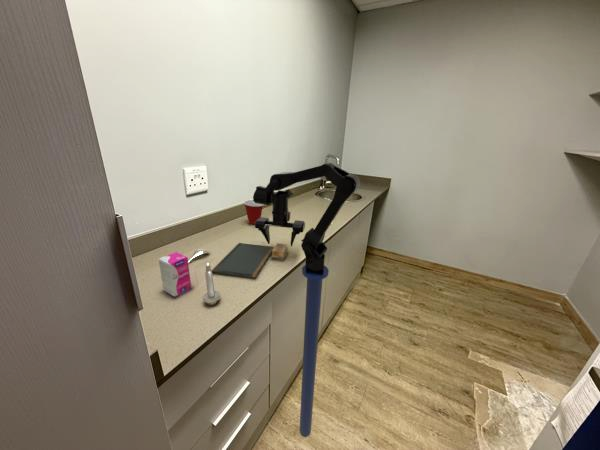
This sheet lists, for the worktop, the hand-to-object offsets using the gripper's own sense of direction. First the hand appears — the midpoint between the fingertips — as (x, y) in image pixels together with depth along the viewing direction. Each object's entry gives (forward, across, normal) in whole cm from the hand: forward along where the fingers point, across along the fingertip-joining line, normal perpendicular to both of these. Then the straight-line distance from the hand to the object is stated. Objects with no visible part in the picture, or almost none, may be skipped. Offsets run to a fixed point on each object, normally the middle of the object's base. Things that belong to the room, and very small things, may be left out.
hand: (280, 244), depth 96 cm
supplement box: (+5, +25, +29) cm, 39 cm away
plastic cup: (+5, +23, -34) cm, 42 cm away
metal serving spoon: (+5, +32, +14) cm, 35 cm away
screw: (+5, +12, +32) cm, 35 cm away
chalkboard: (+5, +12, +6) cm, 14 cm away
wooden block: (+5, 0, 0) cm, 5 cm away
